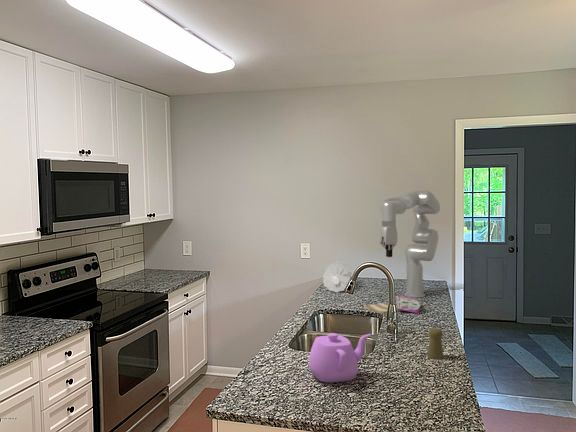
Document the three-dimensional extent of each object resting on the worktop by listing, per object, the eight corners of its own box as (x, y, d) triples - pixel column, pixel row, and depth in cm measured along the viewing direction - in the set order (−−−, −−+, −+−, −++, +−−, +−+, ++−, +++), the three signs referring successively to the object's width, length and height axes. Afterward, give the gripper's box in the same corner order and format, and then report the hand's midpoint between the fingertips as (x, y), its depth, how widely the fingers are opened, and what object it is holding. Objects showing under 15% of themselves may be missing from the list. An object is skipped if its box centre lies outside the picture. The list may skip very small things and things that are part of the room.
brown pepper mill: (443, 355, 190) (443, 327, 190) (443, 360, 185) (443, 332, 184) (427, 353, 192) (428, 326, 192) (427, 358, 187) (427, 330, 186)
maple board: (382, 304, 273) (382, 302, 273) (403, 310, 260) (403, 307, 260) (363, 308, 264) (363, 306, 264) (383, 314, 252) (383, 312, 252)
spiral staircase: (329, 299, 304) (333, 289, 328) (354, 288, 300) (356, 278, 324) (316, 273, 304) (321, 265, 328) (341, 262, 300) (344, 254, 324)
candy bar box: (396, 302, 270) (397, 309, 254) (397, 294, 270) (399, 300, 254) (416, 306, 269) (418, 314, 252) (417, 298, 268) (420, 304, 252)
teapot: (320, 392, 156) (320, 347, 156) (304, 369, 177) (303, 328, 176) (385, 385, 162) (385, 341, 161) (362, 363, 182) (362, 324, 181)
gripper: (392, 222, 275) (393, 254, 276) (374, 224, 266) (375, 257, 267) (403, 223, 269) (403, 256, 270) (384, 225, 260) (385, 259, 261)
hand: (389, 256), depth 269 cm, fingers closed
